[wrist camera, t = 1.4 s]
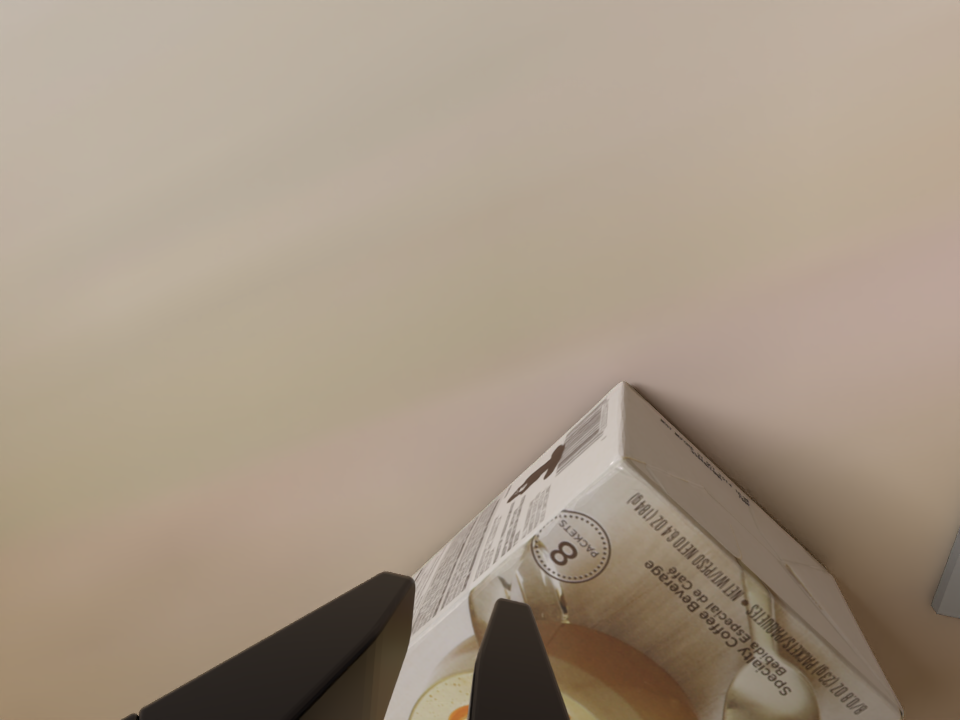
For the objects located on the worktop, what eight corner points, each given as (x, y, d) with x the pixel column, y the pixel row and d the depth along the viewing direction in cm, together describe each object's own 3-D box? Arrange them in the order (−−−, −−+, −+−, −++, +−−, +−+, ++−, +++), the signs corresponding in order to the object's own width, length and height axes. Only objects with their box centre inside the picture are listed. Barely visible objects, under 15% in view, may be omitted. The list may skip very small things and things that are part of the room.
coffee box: (923, 733, 14) (459, 1001, 20) (834, 568, 20) (497, 808, 26) (615, 452, 14) (229, 801, 20) (617, 369, 20) (322, 653, 26)
